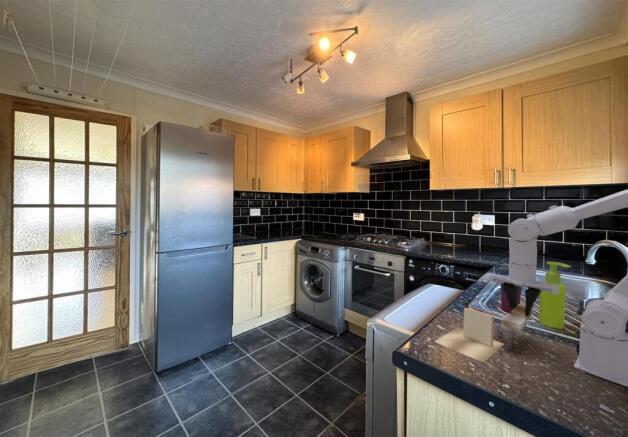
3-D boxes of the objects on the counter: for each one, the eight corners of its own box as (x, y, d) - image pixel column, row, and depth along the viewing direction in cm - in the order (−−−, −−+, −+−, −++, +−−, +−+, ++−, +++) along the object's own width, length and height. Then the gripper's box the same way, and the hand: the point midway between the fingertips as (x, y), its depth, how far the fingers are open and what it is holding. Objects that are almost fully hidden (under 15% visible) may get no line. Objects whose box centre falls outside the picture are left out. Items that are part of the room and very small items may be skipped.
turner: (535, 316, 71) (535, 305, 71) (520, 332, 63) (520, 320, 62) (517, 311, 74) (517, 301, 74) (500, 326, 66) (500, 315, 66)
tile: (493, 345, 68) (494, 315, 67) (491, 347, 67) (492, 317, 67) (464, 335, 73) (465, 307, 73) (462, 336, 73) (463, 308, 72)
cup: (527, 314, 89) (528, 272, 88) (507, 314, 89) (508, 271, 88) (512, 307, 96) (513, 267, 95) (494, 307, 96) (495, 267, 95)
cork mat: (504, 345, 69) (504, 343, 69) (483, 364, 60) (483, 362, 60) (457, 328, 78) (457, 327, 78) (433, 343, 70) (433, 341, 70)
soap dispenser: (559, 331, 77) (562, 265, 76) (534, 321, 83) (536, 260, 83) (572, 329, 78) (575, 264, 78) (547, 319, 85) (549, 259, 84)
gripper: (486, 260, 72) (484, 308, 73) (555, 271, 61) (553, 327, 61) (495, 257, 76) (493, 302, 77) (561, 267, 65) (559, 319, 65)
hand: (520, 313), depth 69 cm, fingers closed on turner, 2 cm apart
